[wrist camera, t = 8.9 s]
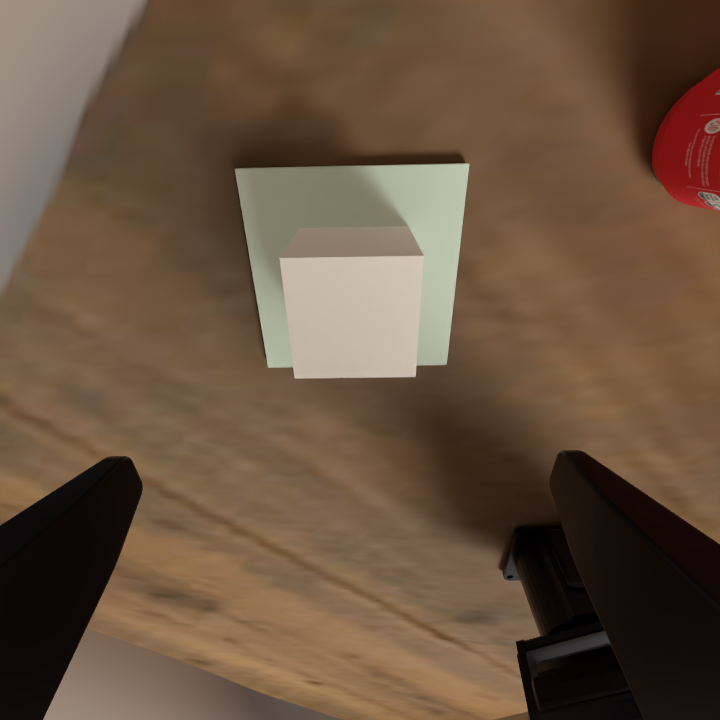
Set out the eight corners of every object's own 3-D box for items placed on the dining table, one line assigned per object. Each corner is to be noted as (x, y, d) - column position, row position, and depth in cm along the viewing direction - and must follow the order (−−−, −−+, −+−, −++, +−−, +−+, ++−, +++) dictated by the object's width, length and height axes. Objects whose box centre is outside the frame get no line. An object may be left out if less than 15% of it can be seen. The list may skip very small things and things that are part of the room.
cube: (404, 324, 20) (415, 376, 16) (308, 326, 20) (294, 378, 16) (408, 225, 17) (423, 255, 13) (299, 227, 17) (279, 258, 13)
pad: (444, 360, 22) (446, 365, 21) (270, 362, 22) (268, 367, 21) (466, 163, 17) (469, 163, 16) (237, 168, 17) (234, 169, 16)
